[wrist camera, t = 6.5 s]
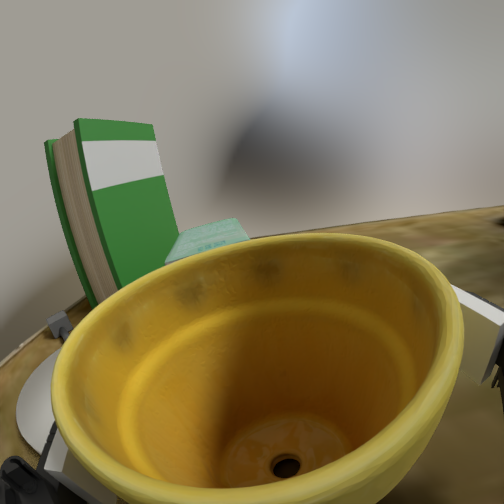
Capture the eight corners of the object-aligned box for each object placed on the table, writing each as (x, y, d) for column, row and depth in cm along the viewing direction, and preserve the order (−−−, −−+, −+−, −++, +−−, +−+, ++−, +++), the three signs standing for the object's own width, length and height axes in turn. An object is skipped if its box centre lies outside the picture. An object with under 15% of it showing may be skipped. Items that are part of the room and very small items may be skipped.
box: (248, 269, 36) (235, 213, 34) (272, 320, 23) (253, 238, 21) (194, 283, 36) (177, 229, 33) (190, 341, 23) (161, 263, 21)
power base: (243, 368, 18) (236, 346, 17) (51, 507, 6) (27, 490, 5) (108, 301, 35) (103, 288, 35) (14, 353, 23) (7, 340, 23)
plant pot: (414, 541, 4) (573, 399, 1) (162, 546, 6) (-18, 413, 3) (378, 382, 13) (377, 216, 11) (209, 401, 15) (150, 256, 12)
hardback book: (132, 311, 31) (78, 118, 24) (93, 312, 33) (44, 142, 25) (186, 259, 47) (152, 124, 40) (152, 264, 49) (119, 139, 42)
